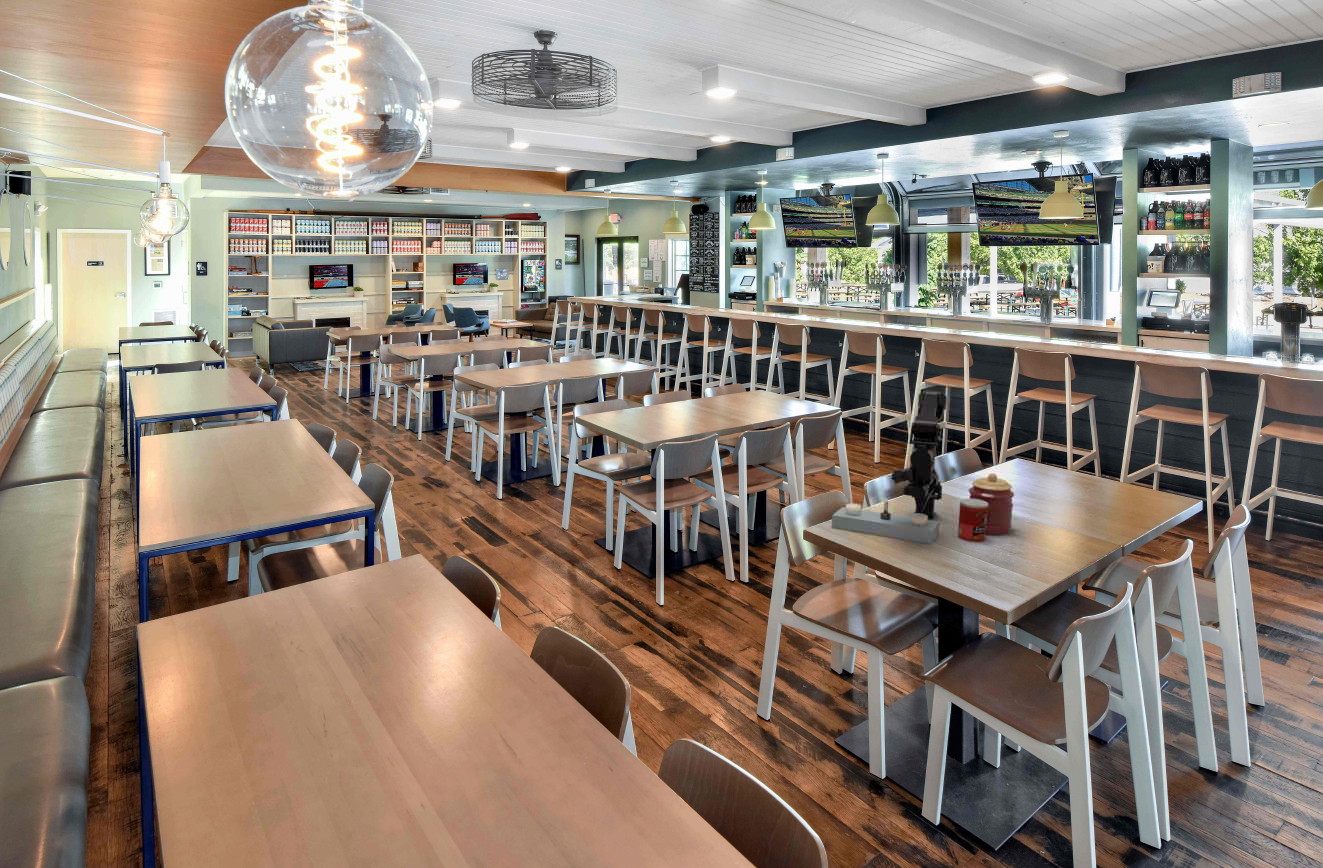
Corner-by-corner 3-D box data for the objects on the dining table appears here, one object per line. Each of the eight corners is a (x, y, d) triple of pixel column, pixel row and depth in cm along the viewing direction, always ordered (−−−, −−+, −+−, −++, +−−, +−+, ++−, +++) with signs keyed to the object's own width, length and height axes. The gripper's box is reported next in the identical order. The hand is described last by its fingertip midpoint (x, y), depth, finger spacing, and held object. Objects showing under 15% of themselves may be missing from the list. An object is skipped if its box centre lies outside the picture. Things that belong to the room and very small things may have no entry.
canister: (1015, 537, 235) (1020, 480, 231) (969, 534, 237) (974, 477, 234) (1005, 523, 247) (1010, 469, 244) (962, 521, 250) (966, 467, 246)
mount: (842, 518, 252) (842, 506, 251) (938, 534, 237) (939, 521, 236) (831, 527, 244) (832, 515, 243) (931, 543, 229) (932, 530, 228)
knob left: (847, 518, 248) (848, 502, 247) (862, 520, 246) (863, 504, 245) (843, 522, 244) (844, 506, 243) (857, 524, 242) (858, 508, 241)
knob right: (912, 528, 238) (913, 512, 237) (927, 531, 236) (929, 514, 235) (908, 533, 234) (909, 516, 233) (924, 535, 232) (925, 518, 231)
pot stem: (881, 516, 242) (882, 499, 241) (891, 517, 240) (892, 500, 239) (879, 518, 239) (880, 501, 238) (888, 520, 238) (890, 502, 236)
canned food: (976, 543, 229) (979, 507, 227) (952, 536, 235) (954, 501, 233) (991, 538, 233) (994, 503, 231) (966, 531, 240) (969, 496, 238)
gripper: (903, 452, 243) (900, 500, 246) (887, 464, 227) (884, 516, 230) (940, 456, 237) (936, 506, 240) (926, 469, 221) (923, 522, 224)
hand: (919, 512), depth 234 cm, fingers closed
